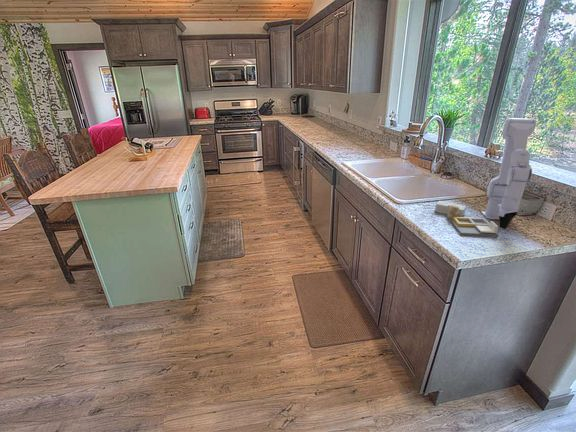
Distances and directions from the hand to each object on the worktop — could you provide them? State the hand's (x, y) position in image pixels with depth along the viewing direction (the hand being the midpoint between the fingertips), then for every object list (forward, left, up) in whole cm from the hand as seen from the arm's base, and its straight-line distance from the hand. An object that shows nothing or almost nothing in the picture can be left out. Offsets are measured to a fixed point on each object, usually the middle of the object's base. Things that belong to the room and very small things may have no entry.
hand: (503, 227), depth 124 cm
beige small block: (+15, -14, -3) cm, 21 cm away
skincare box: (+19, -24, -1) cm, 31 cm away
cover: (+6, 0, -1) cm, 6 cm away
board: (+10, -4, -3) cm, 11 cm away
